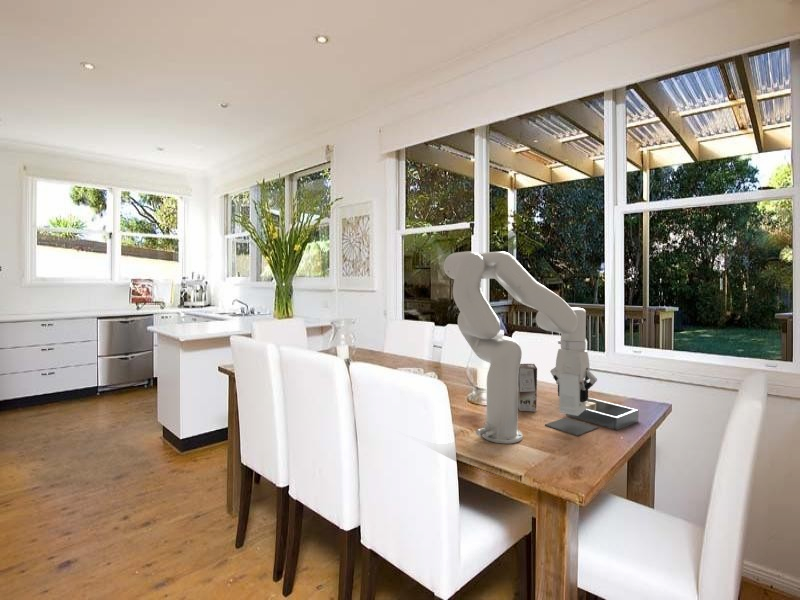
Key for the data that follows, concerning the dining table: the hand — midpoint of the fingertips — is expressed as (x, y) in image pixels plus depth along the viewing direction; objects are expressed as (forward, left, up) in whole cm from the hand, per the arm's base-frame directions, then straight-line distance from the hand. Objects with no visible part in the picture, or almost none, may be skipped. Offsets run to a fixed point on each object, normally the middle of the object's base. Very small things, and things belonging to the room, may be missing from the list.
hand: (572, 398), depth 146 cm
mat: (0, 0, -10) cm, 10 cm away
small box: (0, 0, -5) cm, 5 cm away
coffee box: (+5, +22, -10) cm, 25 cm away
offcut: (+16, +4, -10) cm, 19 cm away
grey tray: (+16, -1, -10) cm, 19 cm away
